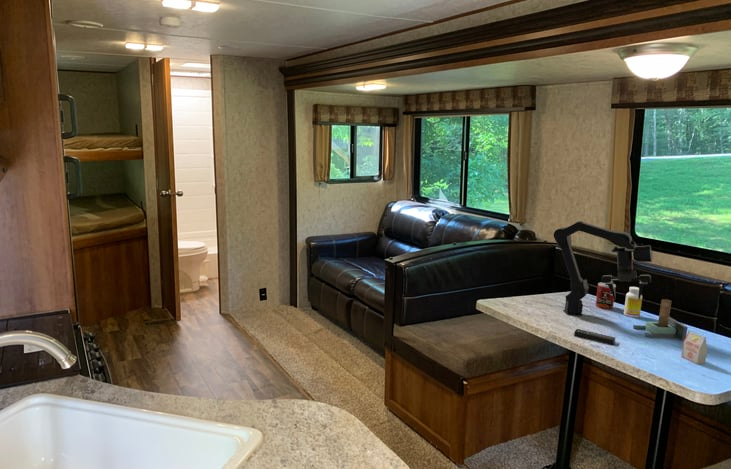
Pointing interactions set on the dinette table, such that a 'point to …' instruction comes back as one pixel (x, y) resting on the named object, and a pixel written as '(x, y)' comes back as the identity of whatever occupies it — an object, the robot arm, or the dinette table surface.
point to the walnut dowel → (664, 313)
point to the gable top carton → (694, 348)
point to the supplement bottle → (633, 303)
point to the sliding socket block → (659, 328)
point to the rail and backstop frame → (680, 334)
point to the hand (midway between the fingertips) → (626, 299)
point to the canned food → (604, 296)
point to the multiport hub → (594, 336)
